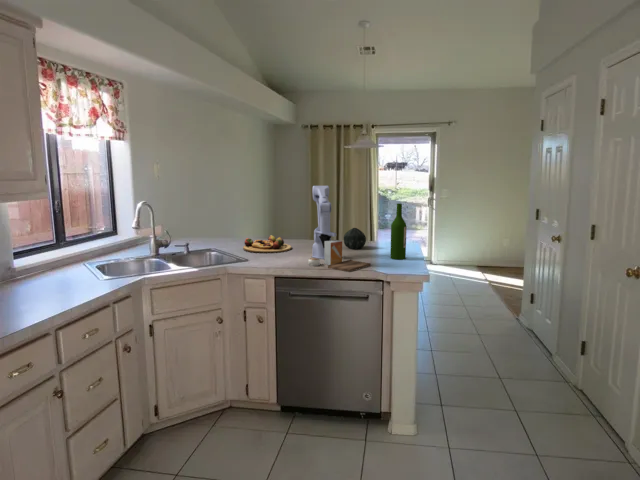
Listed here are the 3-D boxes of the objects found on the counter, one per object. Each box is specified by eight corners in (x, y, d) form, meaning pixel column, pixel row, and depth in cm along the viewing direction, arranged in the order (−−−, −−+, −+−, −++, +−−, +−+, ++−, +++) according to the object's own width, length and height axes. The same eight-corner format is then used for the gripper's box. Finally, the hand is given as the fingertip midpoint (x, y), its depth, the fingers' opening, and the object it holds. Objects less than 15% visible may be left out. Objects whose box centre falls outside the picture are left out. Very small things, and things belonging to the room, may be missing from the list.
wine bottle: (405, 260, 264) (407, 204, 259) (390, 259, 266) (391, 204, 261) (405, 257, 273) (407, 203, 267) (390, 256, 274) (391, 202, 269)
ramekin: (305, 265, 251) (305, 258, 251) (313, 263, 256) (313, 257, 256) (314, 266, 247) (314, 260, 247) (322, 264, 252) (322, 258, 251)
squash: (356, 237, 314) (347, 222, 306) (373, 240, 304) (363, 225, 295) (345, 252, 309) (335, 238, 300) (361, 256, 298) (352, 241, 290)
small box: (330, 265, 249) (330, 242, 247) (324, 263, 255) (324, 240, 253) (342, 264, 254) (342, 241, 252) (335, 262, 259) (335, 239, 257)
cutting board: (328, 268, 244) (328, 265, 244) (350, 262, 259) (350, 259, 258) (348, 271, 235) (348, 269, 235) (370, 265, 250) (370, 262, 249)
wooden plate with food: (234, 252, 291) (234, 239, 290) (255, 244, 321) (255, 232, 320) (280, 256, 282) (280, 243, 280) (298, 247, 312) (298, 235, 310)
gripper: (310, 223, 256) (310, 247, 258) (330, 225, 247) (330, 250, 249) (319, 222, 261) (319, 245, 264) (338, 224, 252) (338, 248, 254)
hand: (325, 247), depth 257 cm, fingers closed
